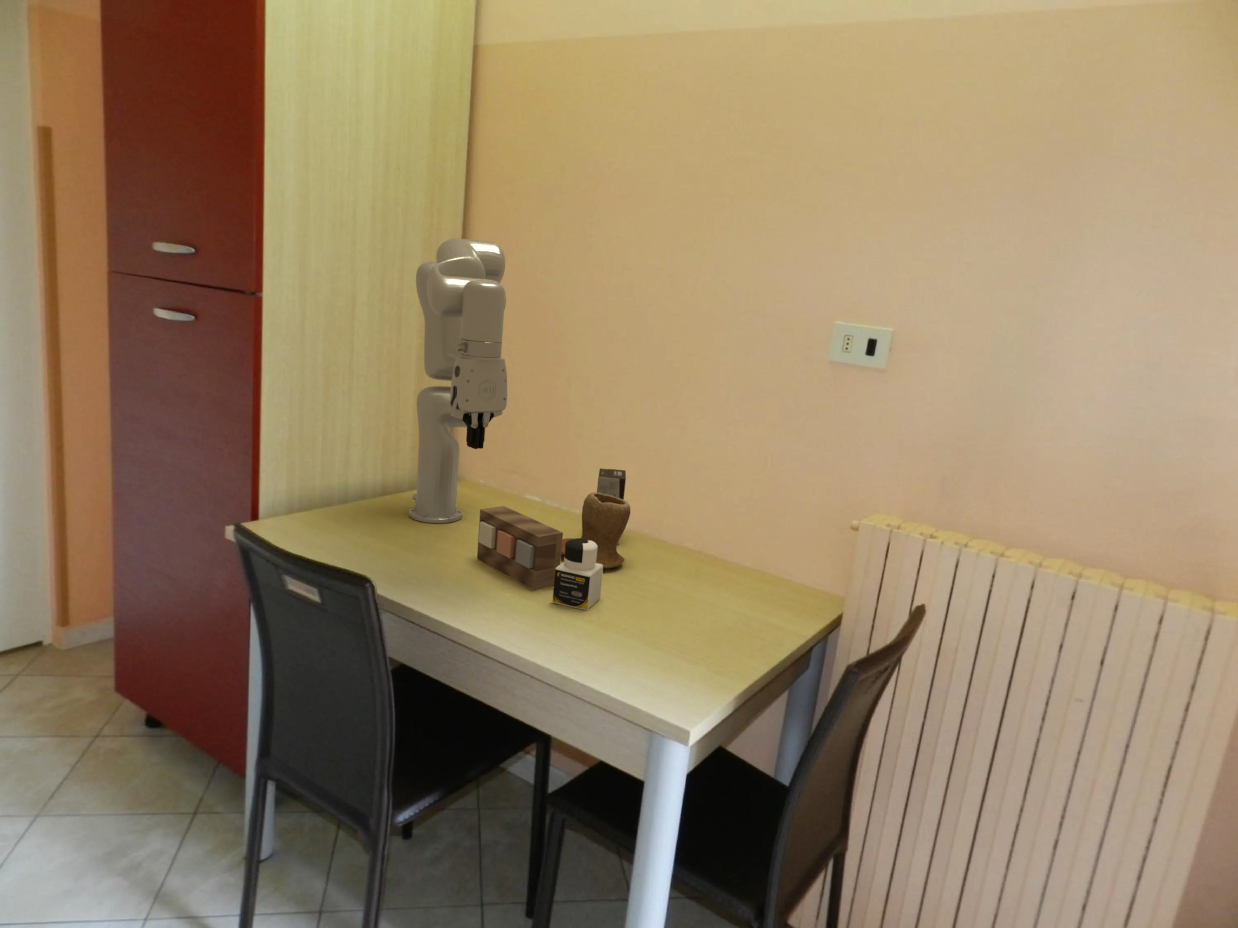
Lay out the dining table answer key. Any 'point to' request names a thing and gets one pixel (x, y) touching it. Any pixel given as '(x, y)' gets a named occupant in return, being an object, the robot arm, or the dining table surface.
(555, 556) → the wooden button box
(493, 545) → the ivory key
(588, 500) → the stone cup
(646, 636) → the dining table surface
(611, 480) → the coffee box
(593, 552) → the medicine bottle
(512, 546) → the terracotta key
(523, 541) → the slate key
